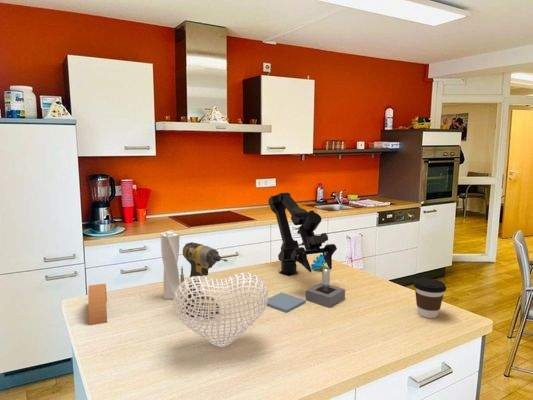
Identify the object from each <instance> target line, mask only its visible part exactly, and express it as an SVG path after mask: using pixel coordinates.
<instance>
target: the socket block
mask: <svg viewBox="0 0 533 400" xmlns="http://www.w3.org/2000/svg"><path fill="white" fill-rule="evenodd" d="M329 293H330V294H326V293H322V282H320V283H318V284H316V285H314V286H312V287H310V288H308V289H306V290H305V300H306V302H307V301H308V302H311V303H314V304H317V305H320V306H324V307H326V308H328V309H330V308H332V307H333V306H335V305H337V304H339V303H340V302H343V301H344V300H345V299H346V297H345V296H346V288H342V287H339V286H336V285H335V286H334V285H332V284H330V289H329Z"/></svg>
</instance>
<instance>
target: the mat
mask: <svg viewBox="0 0 533 400" xmlns="http://www.w3.org/2000/svg"><path fill="white" fill-rule="evenodd" d="M306 302H307V300H306V299H303V298H300V297H297V296H293V295H291V294H287V293H285V292H279V293H277V294H275V295H273V296H271V297H268V302H267V305H266V307H269V308H271V309H275V310H278V311H281V312H283V313H286V314H288V313H289V312H292V310H295V309H296V308H299V307H300V306H301V307H302V305H304V304H306ZM264 303H265V302H264Z"/></svg>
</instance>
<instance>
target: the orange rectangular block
mask: <svg viewBox="0 0 533 400" xmlns="http://www.w3.org/2000/svg"><path fill="white" fill-rule="evenodd" d="M87 292H88V293H87V294H88V295H87V297H88V299H87V300H88V303H87V305H88V324H89V326H93V325H100V324H101V325H102V324H107V323H108V312H107V311H108V310H107V302H108V298H107V297H108V295H107V283H99V284H91V285H88V291H87Z"/></svg>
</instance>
